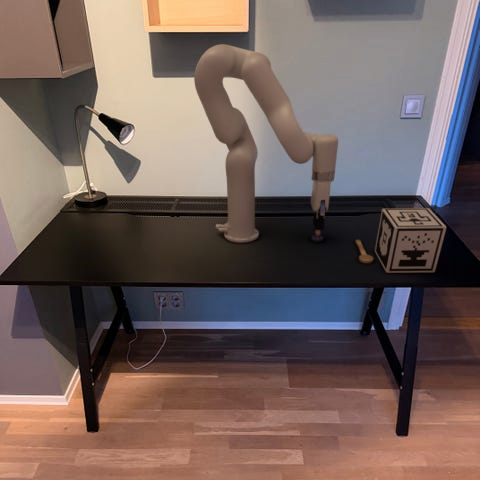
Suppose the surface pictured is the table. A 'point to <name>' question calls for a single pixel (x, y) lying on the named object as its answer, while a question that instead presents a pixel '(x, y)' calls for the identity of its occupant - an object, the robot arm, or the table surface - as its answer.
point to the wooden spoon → (363, 253)
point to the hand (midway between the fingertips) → (318, 226)
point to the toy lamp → (317, 235)
